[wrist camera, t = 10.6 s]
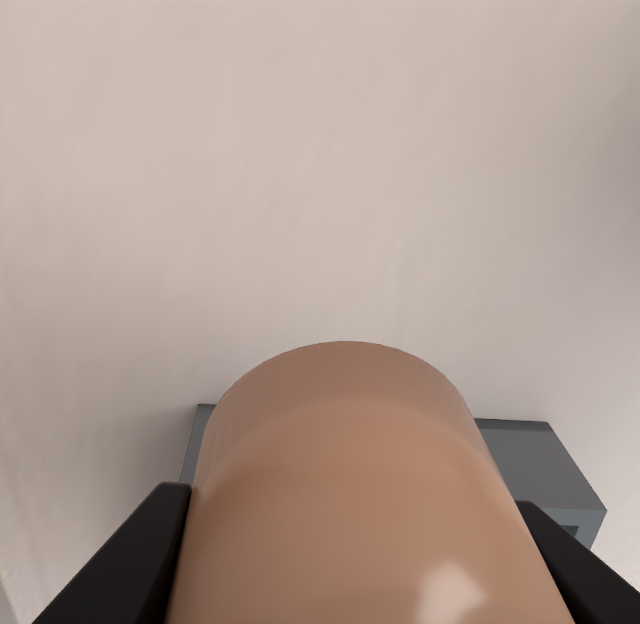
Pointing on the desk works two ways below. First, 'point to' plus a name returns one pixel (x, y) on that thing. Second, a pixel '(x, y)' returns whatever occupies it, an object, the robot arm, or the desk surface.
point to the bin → (503, 471)
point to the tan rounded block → (353, 503)
